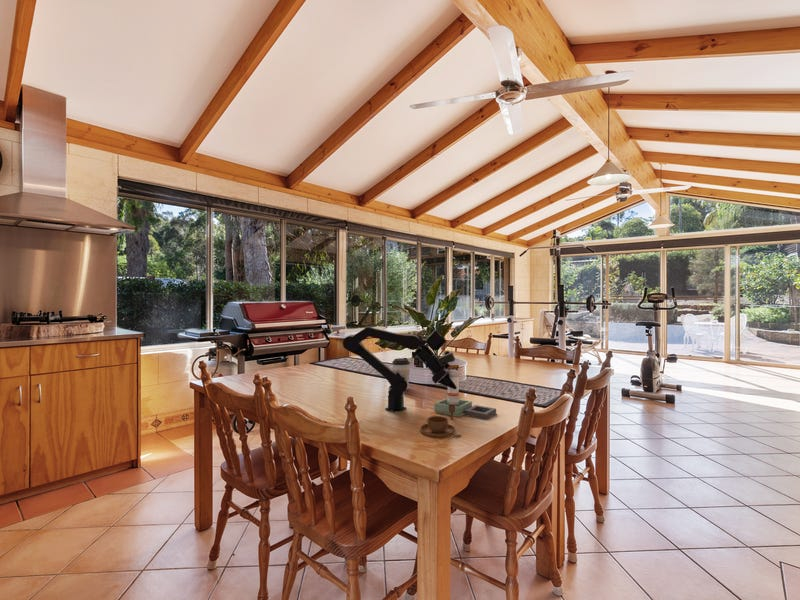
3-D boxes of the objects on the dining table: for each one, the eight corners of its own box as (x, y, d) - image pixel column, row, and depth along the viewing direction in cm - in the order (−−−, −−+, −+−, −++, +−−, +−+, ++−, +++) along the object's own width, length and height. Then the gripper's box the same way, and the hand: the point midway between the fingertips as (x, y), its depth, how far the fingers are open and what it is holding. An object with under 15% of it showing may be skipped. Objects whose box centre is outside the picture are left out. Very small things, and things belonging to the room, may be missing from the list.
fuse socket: (486, 419, 150) (486, 414, 150) (464, 415, 156) (464, 410, 156) (496, 413, 157) (496, 408, 157) (475, 409, 163) (475, 404, 163)
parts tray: (458, 416, 154) (458, 407, 154) (434, 411, 161) (434, 403, 161) (471, 410, 163) (471, 401, 163) (448, 405, 169) (448, 397, 169)
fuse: (455, 405, 158) (455, 372, 158) (444, 403, 161) (444, 371, 161) (461, 403, 162) (461, 370, 162) (450, 401, 165) (450, 369, 165)
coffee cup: (399, 391, 194) (399, 360, 194) (388, 388, 201) (388, 358, 201) (413, 388, 200) (413, 358, 199) (402, 385, 207) (402, 356, 206)
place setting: (408, 429, 142) (408, 412, 142) (451, 419, 153) (451, 403, 153) (440, 444, 127) (440, 426, 127) (485, 432, 139) (485, 415, 139)
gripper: (440, 348, 153) (470, 378, 151) (445, 342, 171) (471, 369, 169) (420, 368, 155) (448, 398, 153) (427, 360, 173) (452, 387, 171)
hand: (456, 387), depth 161 cm, fingers closed on fuse, 4 cm apart
